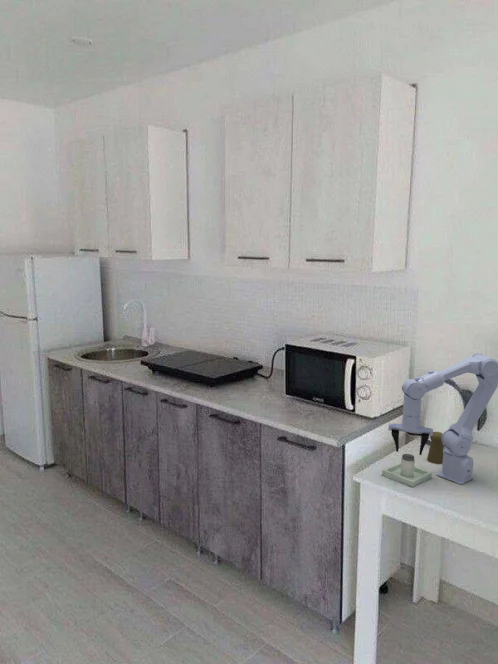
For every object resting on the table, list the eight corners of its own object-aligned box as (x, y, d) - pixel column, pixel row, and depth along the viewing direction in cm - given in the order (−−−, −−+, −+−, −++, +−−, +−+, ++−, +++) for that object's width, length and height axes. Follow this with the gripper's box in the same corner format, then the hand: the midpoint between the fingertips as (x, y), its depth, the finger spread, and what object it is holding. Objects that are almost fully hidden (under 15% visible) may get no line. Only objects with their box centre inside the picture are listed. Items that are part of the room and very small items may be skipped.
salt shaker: (416, 475, 181) (417, 456, 180) (409, 479, 178) (410, 459, 177) (404, 471, 184) (406, 452, 183) (397, 474, 181) (399, 455, 180)
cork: (446, 464, 192) (448, 435, 191) (429, 463, 193) (432, 435, 191) (440, 457, 198) (443, 430, 197) (424, 457, 199) (427, 429, 197)
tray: (431, 477, 181) (432, 472, 180) (412, 487, 173) (413, 482, 172) (401, 466, 189) (401, 461, 189) (382, 475, 182) (382, 469, 181)
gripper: (433, 413, 179) (430, 451, 181) (390, 408, 183) (388, 445, 186) (434, 419, 172) (431, 458, 174) (388, 414, 177) (386, 452, 179)
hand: (408, 452), depth 180 cm, fingers open, 7 cm apart
